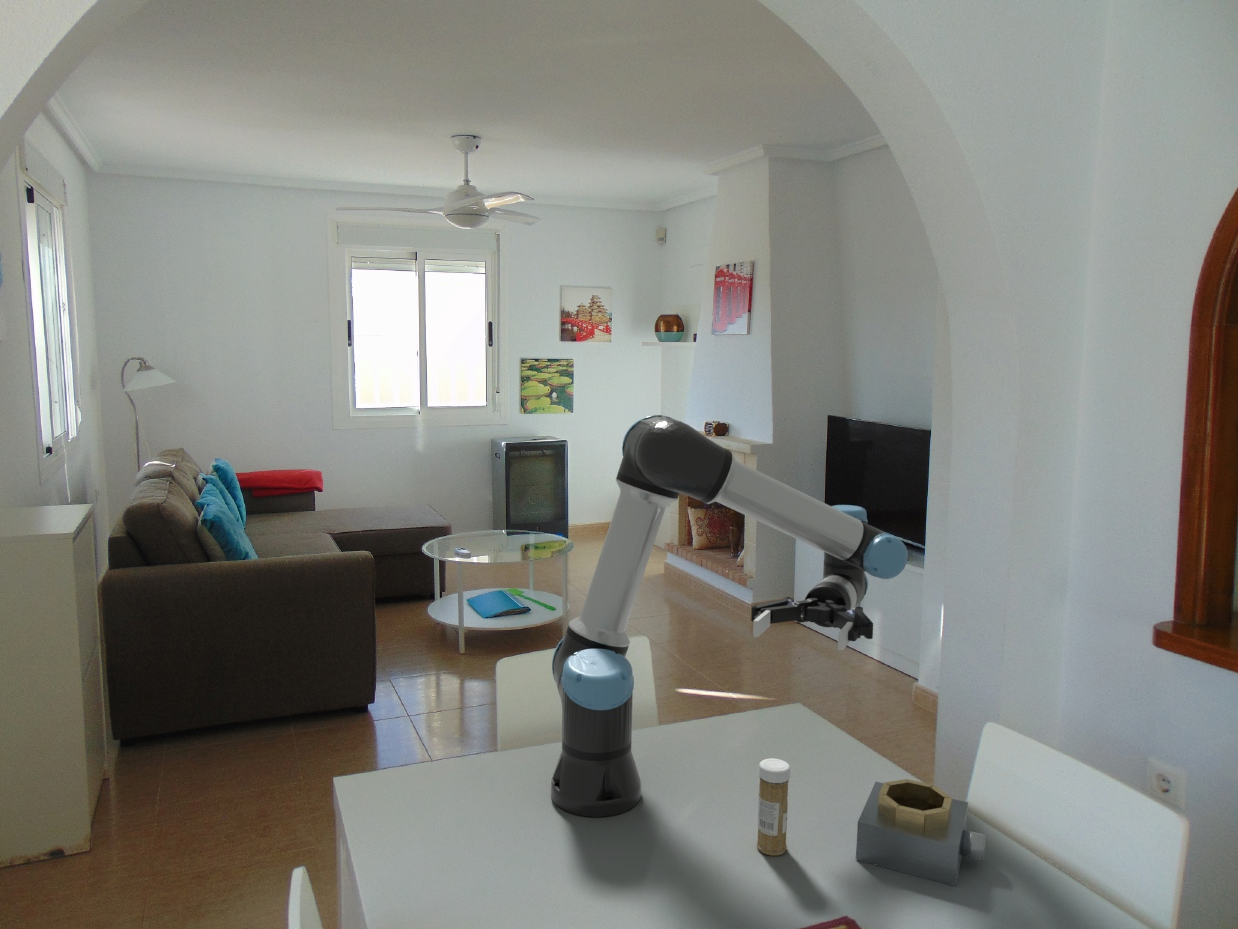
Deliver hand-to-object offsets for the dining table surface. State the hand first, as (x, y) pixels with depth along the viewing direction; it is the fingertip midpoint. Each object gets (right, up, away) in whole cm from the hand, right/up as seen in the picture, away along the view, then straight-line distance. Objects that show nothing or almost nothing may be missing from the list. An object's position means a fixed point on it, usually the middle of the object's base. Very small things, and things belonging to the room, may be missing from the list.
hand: (796, 635), depth 139 cm
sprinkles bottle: (-5, -31, -5) cm, 32 cm away
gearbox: (+18, -32, -5) cm, 37 cm away
